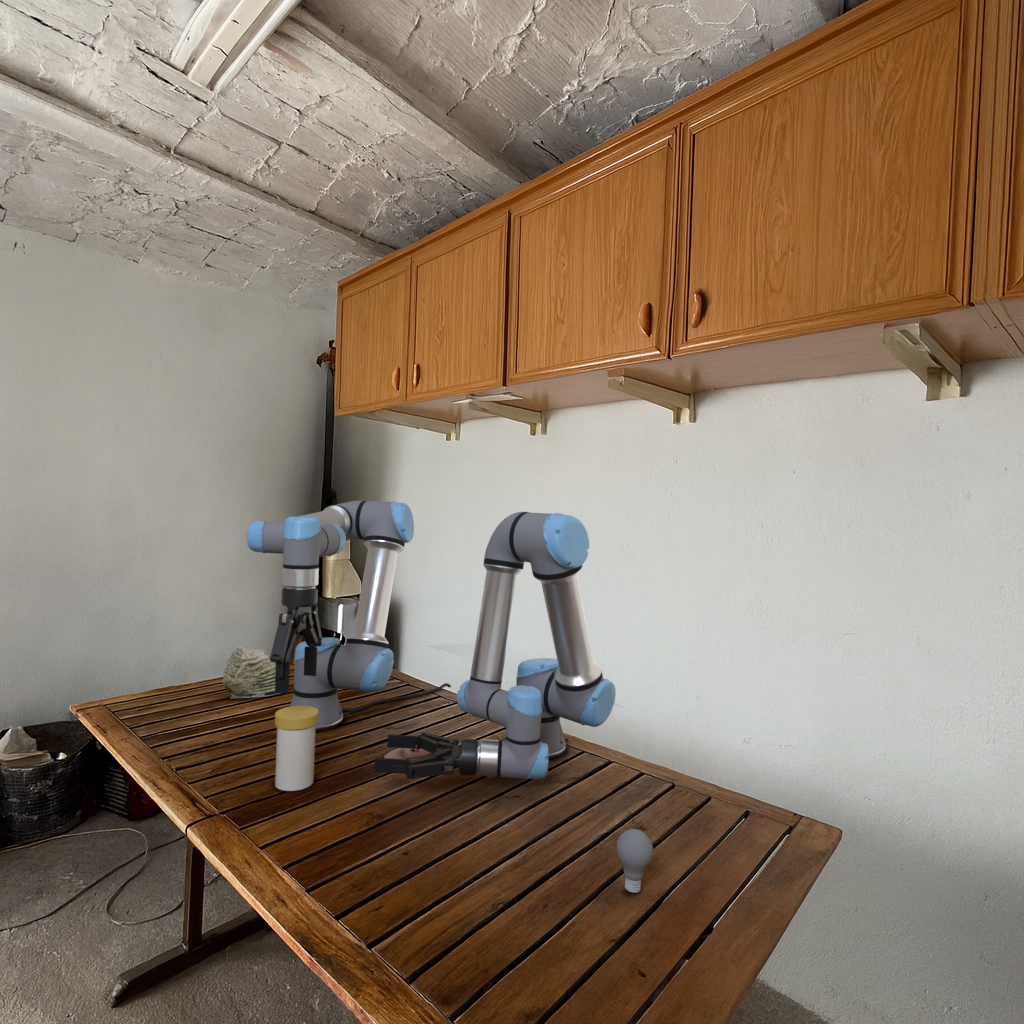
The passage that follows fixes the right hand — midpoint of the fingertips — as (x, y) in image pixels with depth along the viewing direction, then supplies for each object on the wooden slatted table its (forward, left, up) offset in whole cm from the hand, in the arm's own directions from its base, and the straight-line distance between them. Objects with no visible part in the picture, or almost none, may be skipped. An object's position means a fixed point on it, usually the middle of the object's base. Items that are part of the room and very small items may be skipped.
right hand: (381, 752), depth 139 cm
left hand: (+18, -8, +14) cm, 24 cm away
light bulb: (-30, +52, -8) cm, 60 cm away
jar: (+17, -8, -8) cm, 20 cm away
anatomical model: (-11, -13, -8) cm, 18 cm away
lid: (+17, -8, +8) cm, 20 cm away
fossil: (+22, -75, -8) cm, 78 cm away
